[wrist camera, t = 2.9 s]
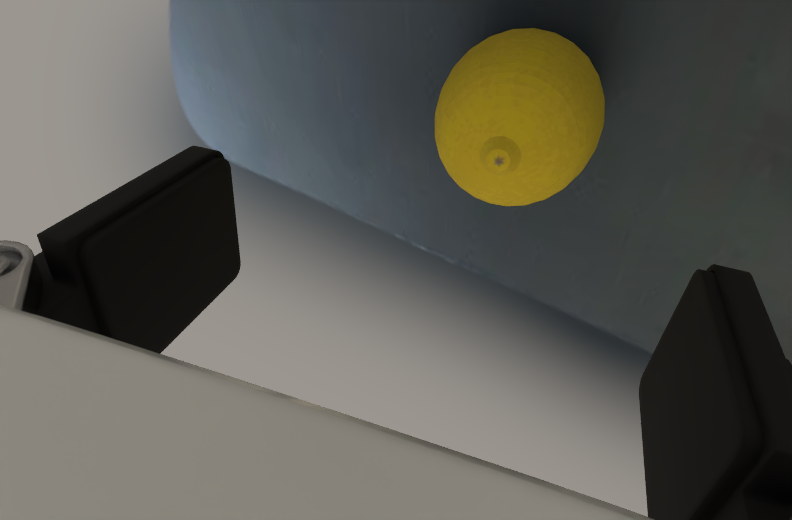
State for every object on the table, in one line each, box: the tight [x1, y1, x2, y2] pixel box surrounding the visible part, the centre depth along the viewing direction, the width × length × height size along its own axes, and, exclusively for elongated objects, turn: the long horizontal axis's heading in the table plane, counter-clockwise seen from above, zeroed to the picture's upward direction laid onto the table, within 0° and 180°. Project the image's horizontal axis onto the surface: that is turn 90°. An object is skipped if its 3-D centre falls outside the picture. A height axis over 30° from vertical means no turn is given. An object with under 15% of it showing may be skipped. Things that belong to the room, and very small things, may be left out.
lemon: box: [435, 28, 605, 206], centre depth 18 cm, size 6×6×8 cm
